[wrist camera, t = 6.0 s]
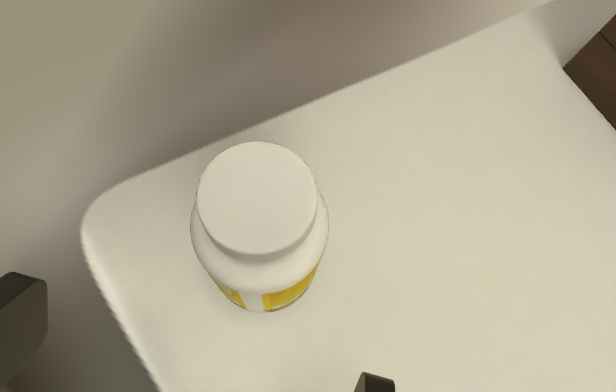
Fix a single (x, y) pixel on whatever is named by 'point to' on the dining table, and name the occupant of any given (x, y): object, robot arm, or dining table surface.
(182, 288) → the dining table surface
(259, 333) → the dining table surface
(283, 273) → the supplement bottle
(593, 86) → the shelf
